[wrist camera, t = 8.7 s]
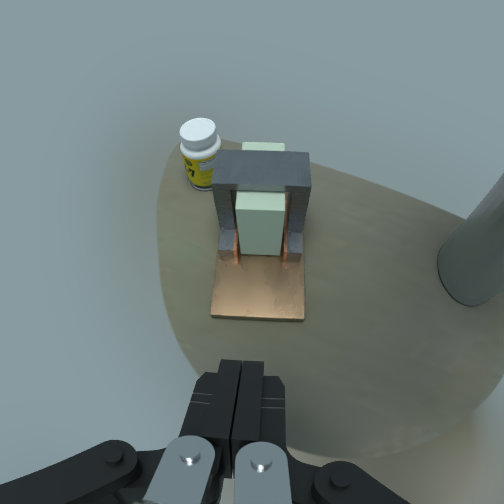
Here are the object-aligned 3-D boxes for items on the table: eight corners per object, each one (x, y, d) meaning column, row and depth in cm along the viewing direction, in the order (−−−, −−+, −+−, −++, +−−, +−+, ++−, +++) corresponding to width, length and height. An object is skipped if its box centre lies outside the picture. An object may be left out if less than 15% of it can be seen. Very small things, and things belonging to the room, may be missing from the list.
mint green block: (279, 255, 32) (285, 210, 25) (240, 254, 32) (235, 209, 25) (280, 193, 36) (284, 143, 29) (246, 192, 36) (242, 142, 29)
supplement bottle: (184, 171, 40) (171, 123, 32) (218, 159, 41) (210, 110, 33) (195, 197, 38) (182, 148, 30) (231, 184, 39) (225, 133, 31)
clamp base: (302, 321, 30) (321, 282, 21) (212, 317, 31) (190, 277, 22) (300, 198, 37) (311, 133, 28) (226, 196, 38) (216, 130, 28)
